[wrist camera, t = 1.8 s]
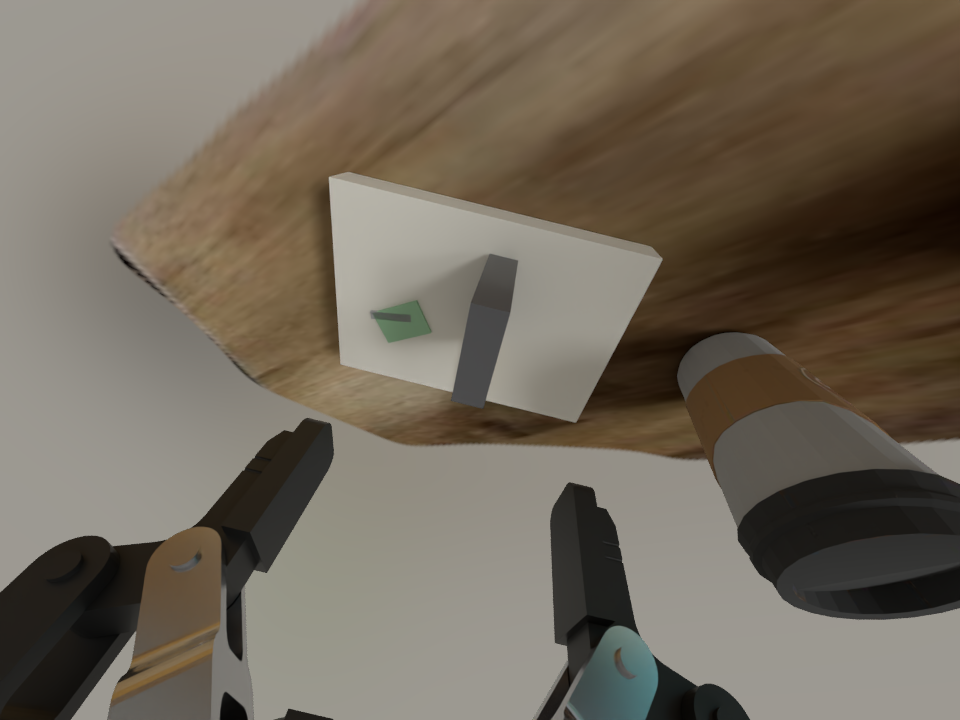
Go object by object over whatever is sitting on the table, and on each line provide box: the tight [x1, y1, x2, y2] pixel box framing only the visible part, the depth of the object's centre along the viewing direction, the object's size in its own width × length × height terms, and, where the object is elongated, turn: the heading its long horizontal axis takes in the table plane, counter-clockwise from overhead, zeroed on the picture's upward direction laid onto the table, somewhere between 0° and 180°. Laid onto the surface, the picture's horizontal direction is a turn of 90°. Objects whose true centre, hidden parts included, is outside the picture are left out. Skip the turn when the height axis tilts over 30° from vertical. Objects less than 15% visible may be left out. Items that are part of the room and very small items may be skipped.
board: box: [329, 172, 663, 423], centre depth 25 cm, size 20×14×3 cm
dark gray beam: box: [451, 254, 518, 409], centre depth 21 cm, size 2×11×7 cm, turn 169°
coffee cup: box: [677, 332, 960, 620], centre depth 20 cm, size 8×8×15 cm
